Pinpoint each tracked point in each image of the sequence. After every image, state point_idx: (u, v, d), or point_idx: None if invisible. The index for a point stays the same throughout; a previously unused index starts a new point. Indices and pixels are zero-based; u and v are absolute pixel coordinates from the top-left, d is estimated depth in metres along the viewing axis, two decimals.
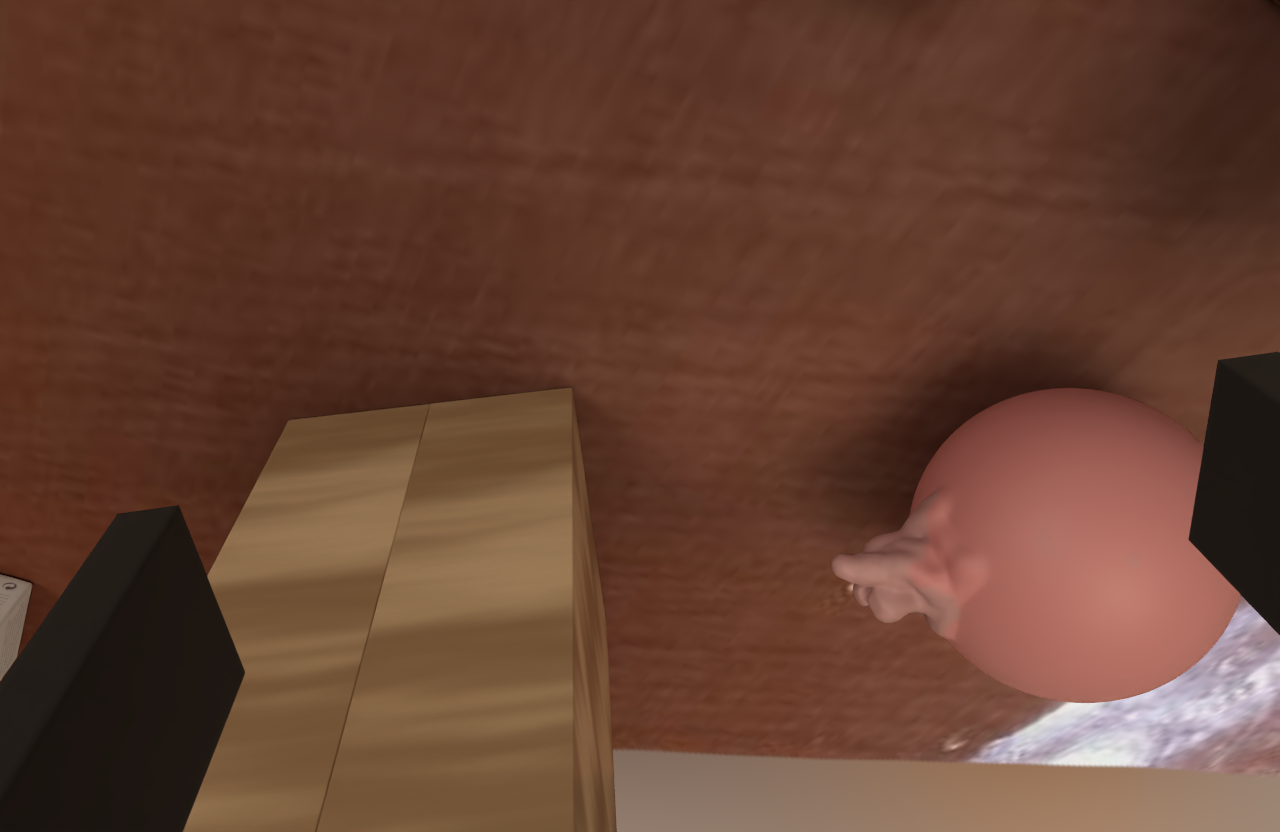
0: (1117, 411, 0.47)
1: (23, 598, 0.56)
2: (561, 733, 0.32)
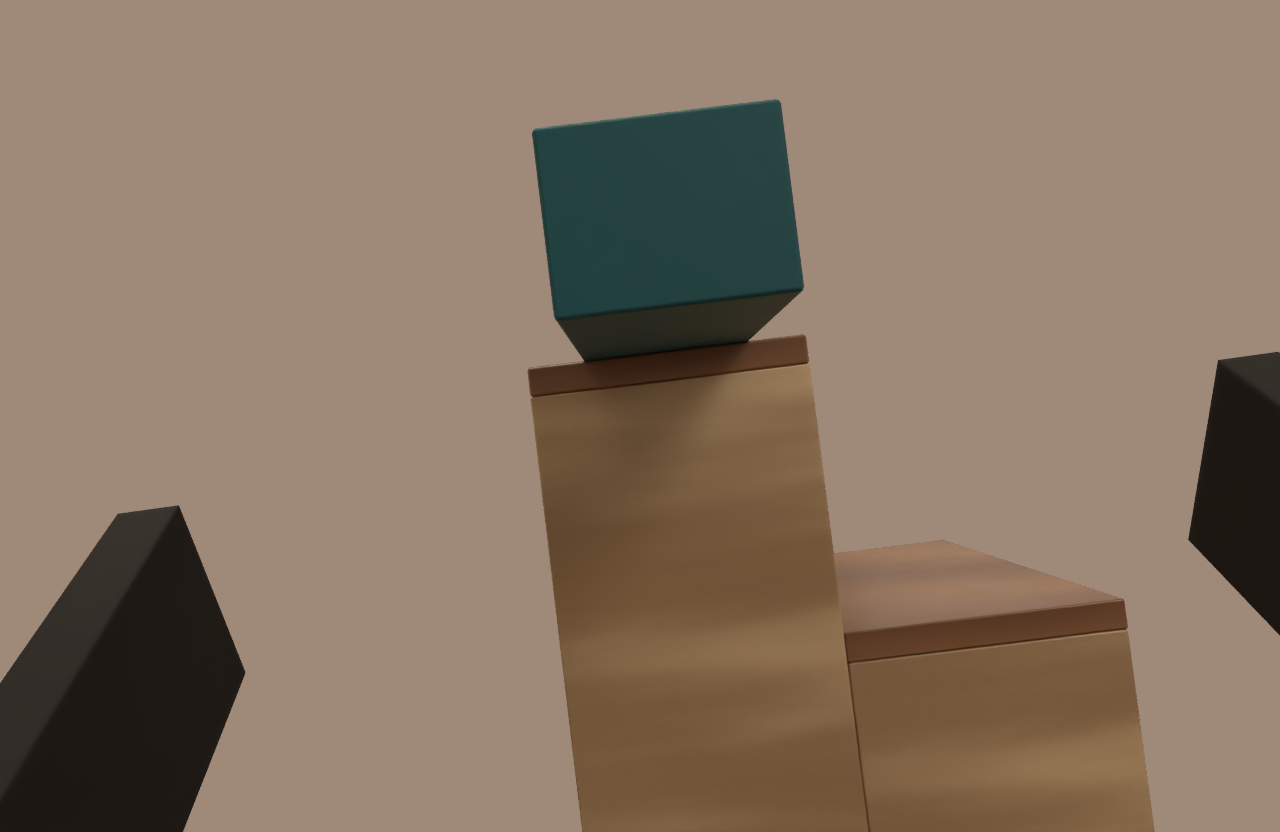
0: None
1: None
2: None
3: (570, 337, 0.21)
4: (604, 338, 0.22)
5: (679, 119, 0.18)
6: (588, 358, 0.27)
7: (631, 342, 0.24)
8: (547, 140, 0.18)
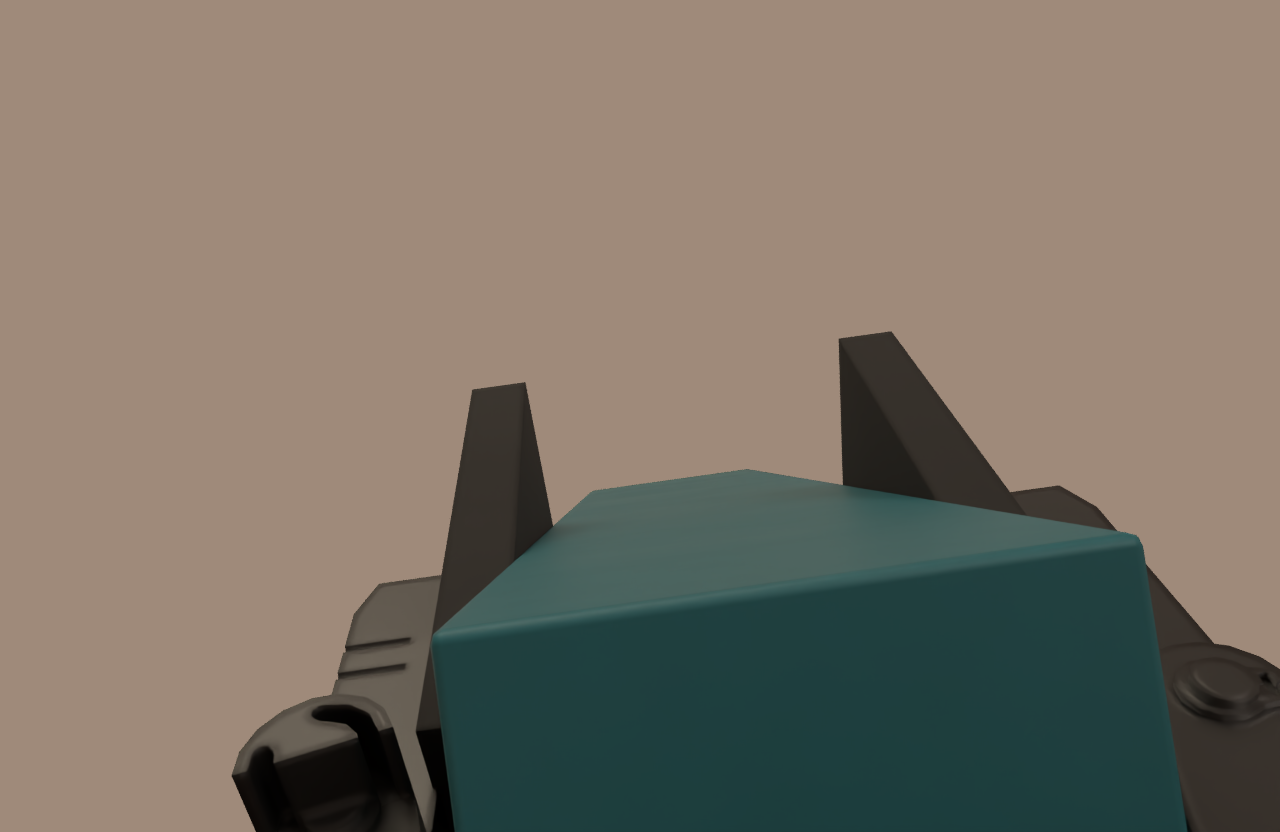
0: None
1: None
2: None
3: None
4: None
5: (856, 606, 0.06)
6: None
7: None
8: (472, 675, 0.06)
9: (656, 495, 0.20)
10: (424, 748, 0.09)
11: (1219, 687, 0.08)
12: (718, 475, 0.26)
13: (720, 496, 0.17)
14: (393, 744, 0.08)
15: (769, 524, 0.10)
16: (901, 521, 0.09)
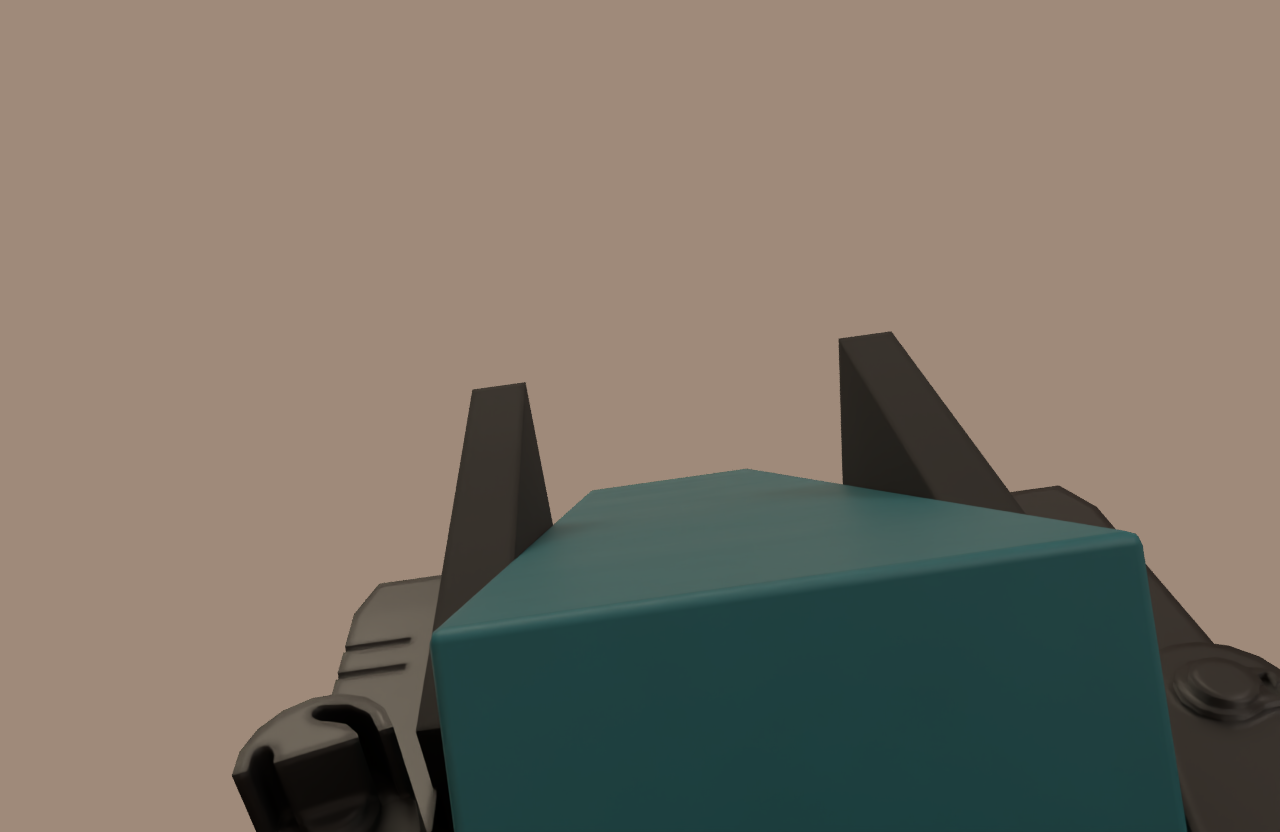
0: None
1: None
2: None
3: None
4: None
5: (856, 604, 0.06)
6: None
7: None
8: (472, 673, 0.06)
9: (655, 494, 0.20)
10: (423, 748, 0.09)
11: (1218, 687, 0.08)
12: (717, 474, 0.26)
13: (719, 495, 0.17)
14: (393, 744, 0.08)
15: (768, 523, 0.10)
16: (900, 519, 0.09)
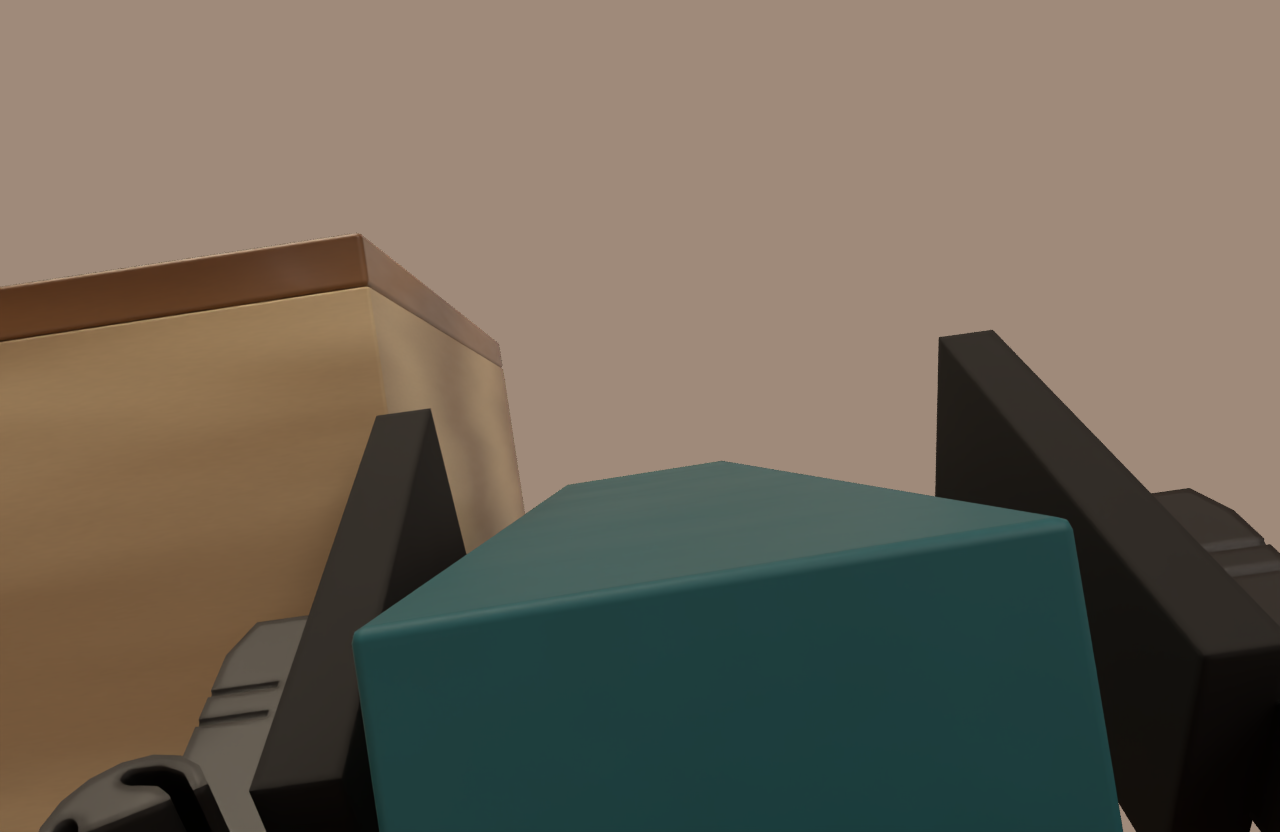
0: None
1: None
2: None
3: None
4: None
5: (783, 596, 0.06)
6: None
7: None
8: (393, 672, 0.06)
9: (625, 488, 0.20)
10: (259, 809, 0.08)
11: None
12: (692, 467, 0.26)
13: (685, 488, 0.17)
14: (210, 802, 0.08)
15: (720, 515, 0.10)
16: (846, 509, 0.09)
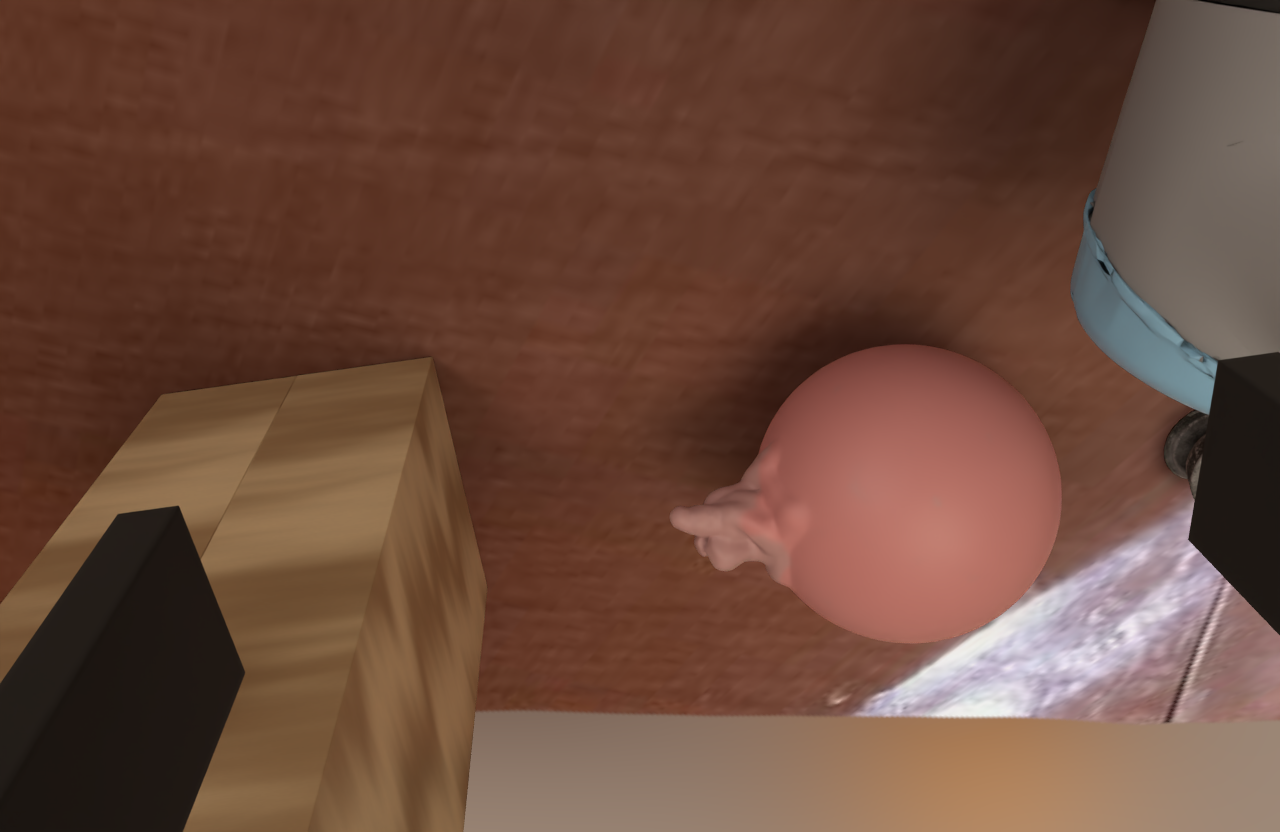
0: (932, 363, 0.49)
1: None
2: (341, 660, 0.34)
3: None
4: None
5: None
6: None
7: None
8: None
9: None
10: None
11: None
12: None
13: None
14: None
15: None
16: None
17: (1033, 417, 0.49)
